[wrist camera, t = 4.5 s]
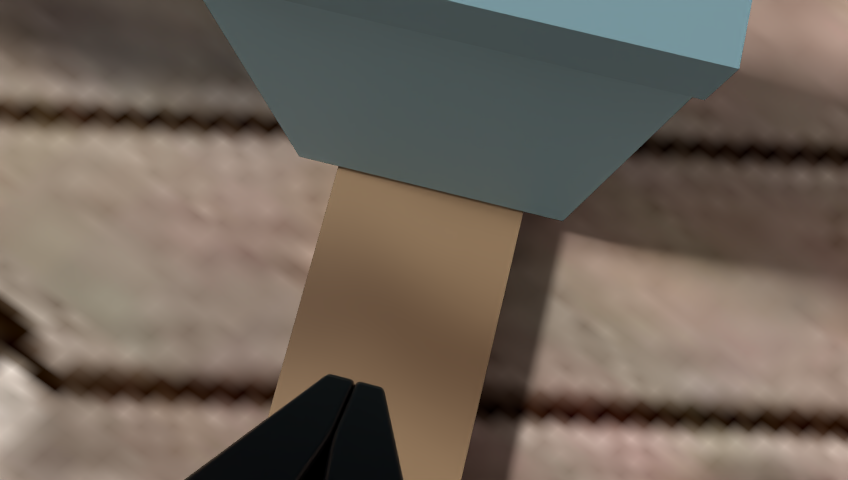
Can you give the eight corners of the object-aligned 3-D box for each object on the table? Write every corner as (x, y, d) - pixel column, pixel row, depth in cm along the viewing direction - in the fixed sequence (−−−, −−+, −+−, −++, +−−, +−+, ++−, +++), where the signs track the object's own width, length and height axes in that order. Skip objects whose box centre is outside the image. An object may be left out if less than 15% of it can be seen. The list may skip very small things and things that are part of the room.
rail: (429, 596, 18) (430, 633, 15) (241, 546, 18) (213, 575, 16) (617, -209, 22) (641, -278, 19) (460, -244, 22) (464, -317, 19)
